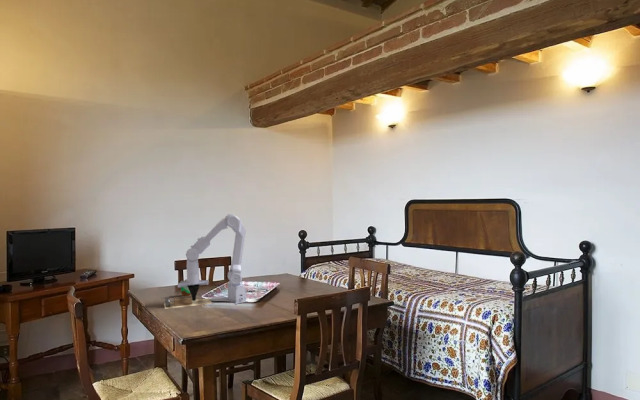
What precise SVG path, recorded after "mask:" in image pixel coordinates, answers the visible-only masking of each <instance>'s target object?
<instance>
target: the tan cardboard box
mask: <svg viewBox="0 0 640 400" xmlns="http://www.w3.org/2000/svg"><path fill="white" fill-rule="evenodd" d="M173 302H174V305H175V306H182V305H191V304H192V296H183V297H182V296H175V297H173Z"/></svg>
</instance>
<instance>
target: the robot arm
mask: <svg viewBox="0 0 640 400" xmlns="http://www.w3.org/2000/svg"><path fill="white" fill-rule="evenodd" d="M228 228H231V230H232V231H233V232H234V234H235V235H234V244H233V251H232V258H231V264H230V268H229V270H228V272H227V276H226V277H227V279H228V280H229V281H228V282H227V299H228V301H231V302H232V303H233V304H234V305H238V304H242V303H247V302H248V301H246V300H247V289H246V287H245V286H244V285H243V282H242V280H243V276H242V261H243V256H244V247H245V238H246V229H245V226H244V225H243V222H242V219H241V218H239V217H238V216H237V215H236V214H233V213H230V214H227V215H226V216H225V217H224V218H221V220H220V221H218V223H217V224H215V226H214V227H213V228H212V229H211V230H210V231H209V232H208V233H207V234H206V235H205V236H201V237H198V238H197V241H196V242H195V243H194V244H192V245H191V246H190V248H188V249H187V251H186V253H185V257H186V279H187V282H182V283H180V282H177V288H181V287H186V286H187V287H188V289H189V291H190V293H191V297H192V301H196V300H197V299H196V298H197V294H198V292H199V288H200V286H204V285H206V286H207V285H209V279H205V280H204V279H201V280H200V271H199V270H200V268H199V257H200V255H201V254H202V253H203V252H204V251H206V250H207V248H208V247H209V246H210V245H211V241H212V240H213V239H214V238H215V237H216V236H217V235H218V234H219V233H220V232H221V231H222V230H225V229H228Z"/></svg>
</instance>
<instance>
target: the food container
mask: <svg viewBox="0 0 640 400" xmlns="http://www.w3.org/2000/svg"><path fill="white" fill-rule="evenodd" d="M182 282H187V278H186V279H185V280H180V282H179V283H182ZM180 292H181V293H180V294H181V297H183V296H191V293H190V291H189V289H188V287H187V286H186V287H180ZM191 297H192V296H191Z"/></svg>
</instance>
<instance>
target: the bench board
mask: <svg viewBox="0 0 640 400" xmlns="http://www.w3.org/2000/svg"><path fill="white" fill-rule="evenodd" d="M211 304H212V305H213V302H212V301H211V299H210V297H209V298H208V297H207V298H199V299H198V298H197V299H196V301H192V304H191V305H182V306H175V305H174V301H172V302H171V301H170V307H166V305H165V302H164V303H163V306H164V309H165V310H171V309H178V308H186V307H195V306H202V305H204V306H205V305H211Z"/></svg>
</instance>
